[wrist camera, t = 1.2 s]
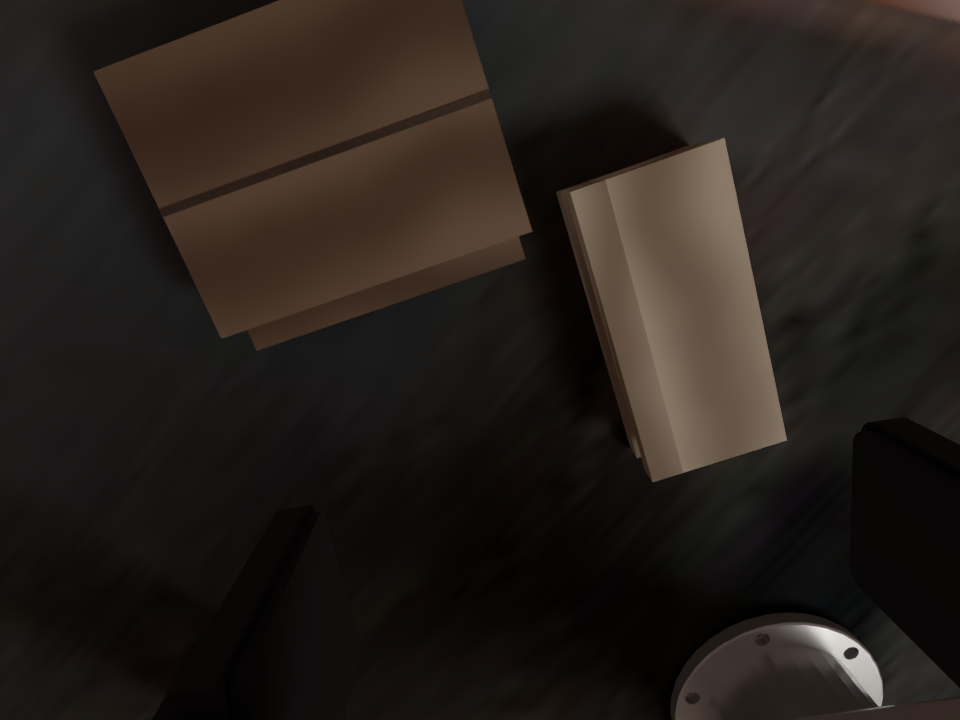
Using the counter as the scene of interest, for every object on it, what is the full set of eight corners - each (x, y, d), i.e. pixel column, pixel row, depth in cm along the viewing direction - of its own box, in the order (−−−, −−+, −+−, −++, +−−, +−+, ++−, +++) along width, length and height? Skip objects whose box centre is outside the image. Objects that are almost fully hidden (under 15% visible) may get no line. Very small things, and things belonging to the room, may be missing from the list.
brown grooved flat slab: (530, 250, 28) (541, 259, 24) (263, 341, 29) (232, 364, 25) (445, -24, 25) (442, -64, 21) (148, 89, 26) (92, 71, 22)
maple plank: (687, 145, 27) (724, 138, 23) (746, 409, 31) (786, 440, 27) (555, 192, 28) (570, 192, 24) (629, 446, 32) (652, 482, 28)
